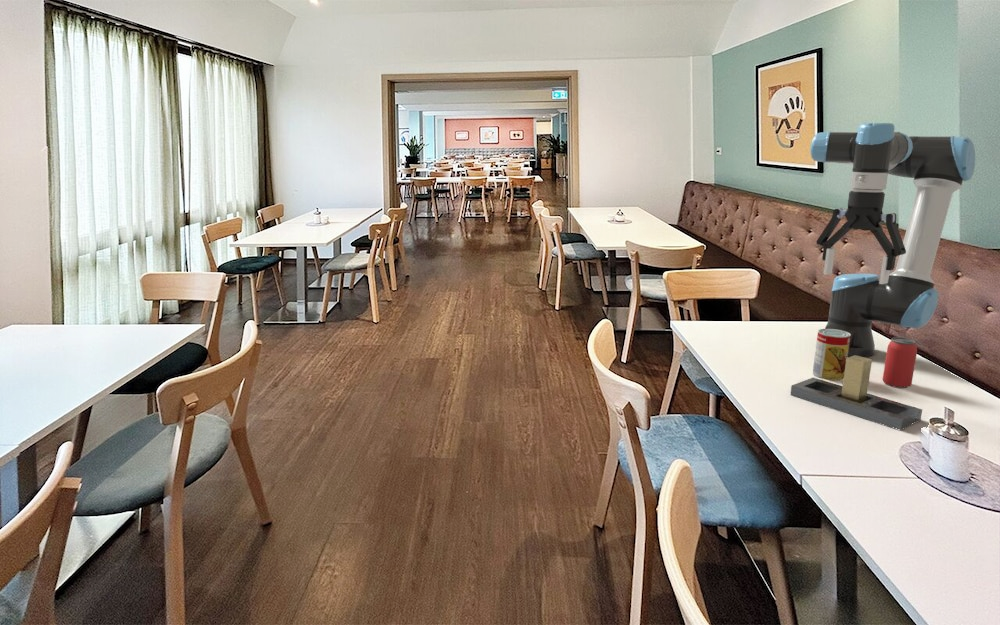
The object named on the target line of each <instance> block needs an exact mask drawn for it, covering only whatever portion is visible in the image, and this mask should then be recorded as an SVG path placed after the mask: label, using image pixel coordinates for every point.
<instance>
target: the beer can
mask: <svg viewBox="0 0 1000 625" xmlns="http://www.w3.org/2000/svg"><path fill="white" fill-rule="evenodd" d="M885 355H886V356H885V362H884V367H883V374H882V381H883V383H884V384H885V385H888V386H889V387H894V388H898V389H901V388H902V389H903V388H908V387H909V388H910V387H911V386H912V383H913V378H914V372H915V367H916V366H915V365H916V360H917V355H918V346H917V341H916V340H914V339H912V338H909V337H901V336H897V337H896V336H895V337H892V338H891V340H890V341H889V343H888V345H887V348H886V354H885Z"/></svg>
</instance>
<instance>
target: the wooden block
mask: <svg viewBox="0 0 1000 625" xmlns="http://www.w3.org/2000/svg"><path fill="white" fill-rule="evenodd" d="M872 362H873V359H871V358H868V357H860V356H856V355H854V356H848V357H847V358H846V365H845V372H844V379H842V385H841V386H842V393H841V398H844V399H847V400H850V401H854V402H857V403H860V404H861V403H863V402H865V401H866V396H867V393H868V389H869V383H870V382H869V381H870V375H871V371H872V370H871V369H872Z"/></svg>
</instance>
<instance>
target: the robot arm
mask: <svg viewBox="0 0 1000 625" xmlns="http://www.w3.org/2000/svg"><path fill="white" fill-rule="evenodd" d="M857 129H858V130H857V132H854V131H853V132H847V131H846V132H845V131H844V132H843V131H842V132H841V131H837V132H835V131H834V132H833V131H825V132H818V133H816V134H815V135H814V136H813V138H812V140H811V144H810V150H809V151H810V152H809V153H810V158H811V159H812V160H813V161H815V162H818V163H819V162H820V163H821V162H822V163H835V164H836V163H837V164H845V165H853V166H852V172H851V179H850V187H849V188H850V189H851V191H849V193H848V200H847V209H846V210H845V209H843V208H842V207H841V208H835V209H834V210H832V211H833V212H832V215H831V218H830V220H829V221H828V223H827V225H826V226H825V228H824V229H823V231H822V232H821V233H820V235H819V237H818V238H817V239H816V241H815V242H816V244H817V245H819V246H821V247H822V249H823V250H822V251H823V252H822V257H821V258H822V261H824V267H823V275H825V276H827V275H832V274H833V267H834V262H835V261H834V260H835V253H836V248H835V247H834V245H835V244H837V243H838V242H839V241H841V239H842V238H843V237H844V236H845V235H846V234H847V233H848V232H850V231H851V230H852V229H853V230H856V231H857V230H861V231H865V232H867V231H870V233H871V234H873V236H874V238H875V240H877V242H878V243H879V245H880V246H881V248H882V249H883V251H884V252H885V254H886V255H885V256H883V259H882V263H881V270H880V276H879V275H878V274H874V273H865V272H864V273H845V274H840V275H837V276H836V277H834V280H833V283H832V284H833V285H832V289H831V296H830V303H829V304H830V305H829V310H828V311H829V312H828V320H827V323H826V325H825V327H824V329H837V330H842V331H846V332H848V333H850V334H851V336H850V343H849V350H848V357H851V356H854V355H856V356H860V357H864V358H866V357H870V356H872V355H874V354H875V348H876V347H875V340H874V336H873V332H872V323H873V322H878V323H883V324H888V325H894V326H899V327H902V328H911V329H921V328H923V327H925V326H926V325H927V324H928V323H929V322H930V321H931V319H932V317H933V315H934V314H935V311H936V309H937V306H938V302H939V298H940V293H939V291H938V289H936V288H934V287H935V281H934V280H933V279H932V278H931V273H932V270H933V266H934V263H935V258H936V255H937V252H938V248H939V244H940V240H941V236H942V233H943V230H944V225H945V222H946V218H947V215H948V211H949V208H950V204H951V202H952V201H951V200H952V198H953V194H954V193H955V192H957V191H958V190H960V189H961V188H962V185H963V182H967V181H971V179H972V177H973V175H974V172H975V166H976V150H975V144H974V142H973V141H972V139H971V138H969V137H966V136H954V135H951V136H917V135H915V136H913V135H911V136H909V135H908V134H905V133H902V132H900V131H895V124H894V123H890V122H867V123H866V122H864V123H861V124H860V125H859V126H858V128H857ZM888 175H892V176H896V177H900V178H913V182H912V184H914V186H915V187H916V189H917V190H916V194H915V197H914V200H913V204H912V208H911V212H910V216H909V219H908V224H907V226H906V230H905V234H904V237H903V238H902V236H901V233H900V229H899V227H898V224H897V214H896V213H895V212H894V213H893V212H892V213H884V212H883V208H884V202H885V196H886V193H885V192H883V191H884V190H886V189H887V184H888ZM844 217H845V219H846V222H845V223H844V224H843V225H841V227H840V228H839V229H838V230H837V231H836V232H835V233H834V234H833V232H834V231H835V229H836V228H837V226H838V225H839V223H840V221H841V220H842V219H843V218H844ZM882 220H883V222H884V223H885V225H886V229H887V231H888V235H889V237H890V239H889V238H888V236H887V234H886V233H885V232H884V229H883V227H882V225H881V224H880V223H881V221H882ZM832 234H833V235H832ZM897 257H898V260H897V259H896V258H897ZM896 260H897V262H896ZM896 263H897V264H896ZM895 265H896V267H895ZM894 269H895V270H894ZM893 270H894V271H893ZM890 271H893V272H891V273H890Z"/></svg>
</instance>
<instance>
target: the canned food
mask: <svg viewBox="0 0 1000 625" xmlns="http://www.w3.org/2000/svg"><path fill="white" fill-rule="evenodd" d="M850 336H851V334H850V333H848V332H846V331H842V330H837V329H825V328H820V329H818V331H817V337H816V342H815V343H816V344H815V351H814V357H813V359H814V360H813V366H812V367H813V368H812V376H814V377H815V378H816V377H817V378H818V379H821V380H825V381H826V380H827V381H828V380H829V381H841V380H842V381H843V379H844V372H845V365H846V358H848V357H849V356H848V350H849V343H850Z"/></svg>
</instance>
